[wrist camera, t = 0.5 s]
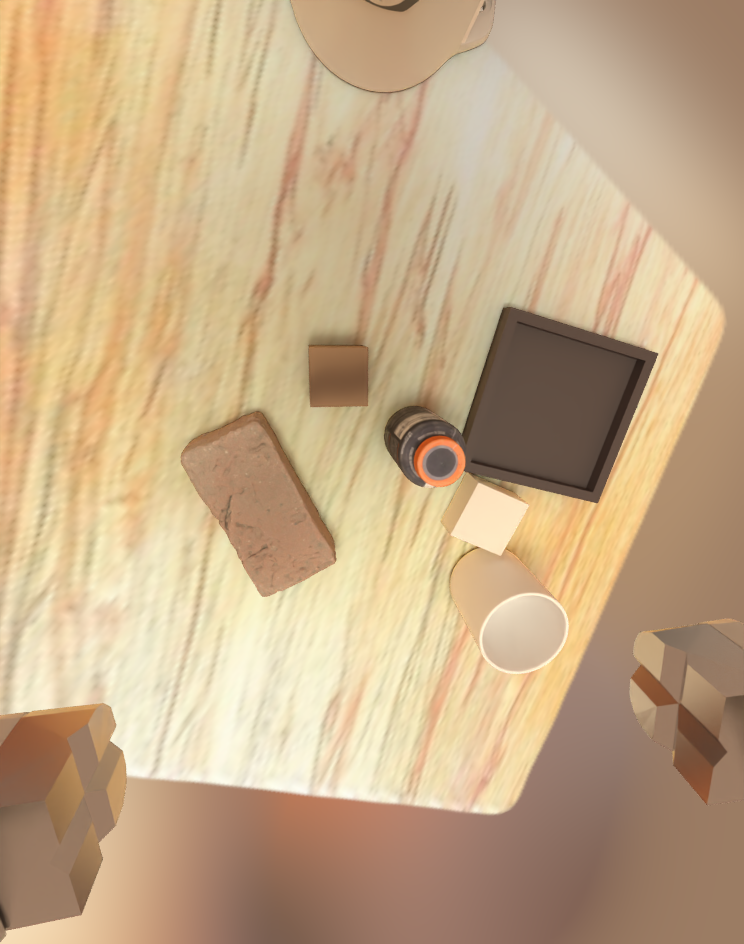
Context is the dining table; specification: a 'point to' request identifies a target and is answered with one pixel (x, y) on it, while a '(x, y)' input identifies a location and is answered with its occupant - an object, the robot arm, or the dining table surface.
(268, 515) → the brick
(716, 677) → the robot arm
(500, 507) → the ceramic block
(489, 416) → the tray
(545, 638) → the mug
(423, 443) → the pill bottle
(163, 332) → the dining table surface
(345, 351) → the walnut cube
